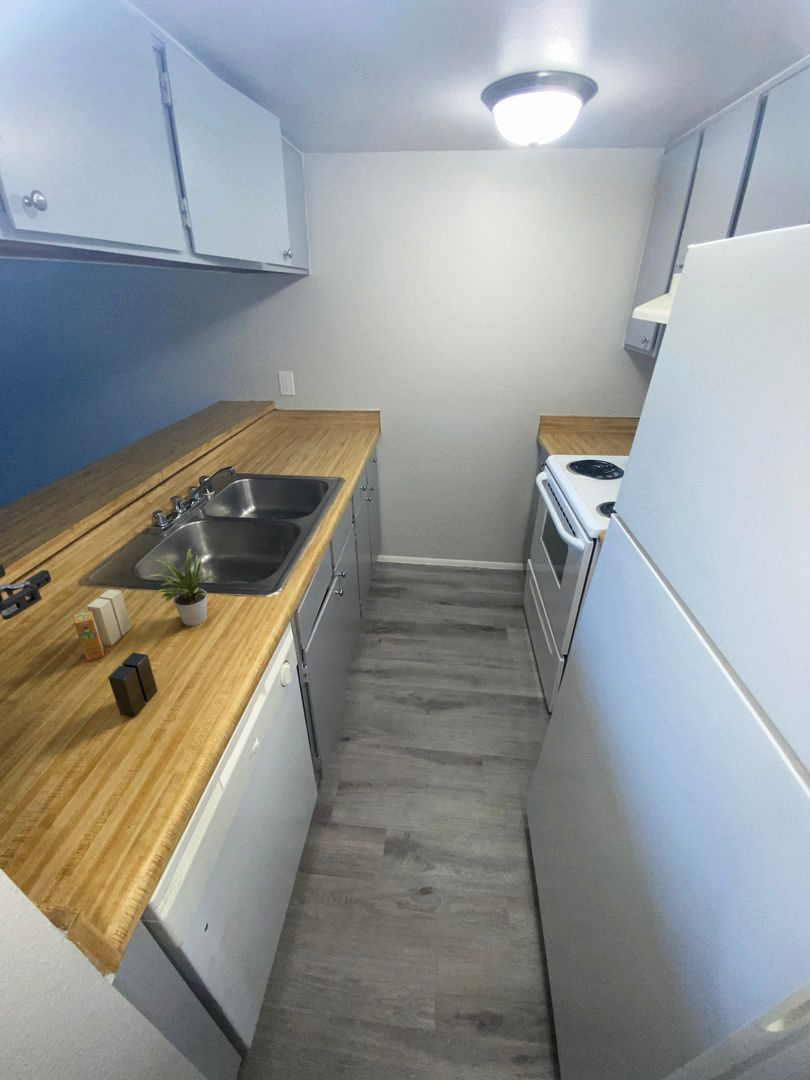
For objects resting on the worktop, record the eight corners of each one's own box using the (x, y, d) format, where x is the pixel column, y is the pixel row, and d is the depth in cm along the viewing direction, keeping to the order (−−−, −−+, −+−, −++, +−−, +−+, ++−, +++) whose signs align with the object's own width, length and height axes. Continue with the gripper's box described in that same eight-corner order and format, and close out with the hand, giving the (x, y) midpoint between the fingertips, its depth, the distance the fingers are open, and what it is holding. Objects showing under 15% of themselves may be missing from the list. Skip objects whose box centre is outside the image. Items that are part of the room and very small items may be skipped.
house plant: (164, 603, 115) (149, 544, 108) (224, 595, 119) (214, 538, 112) (156, 640, 103) (139, 576, 96) (223, 629, 107) (212, 568, 100)
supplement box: (86, 662, 96) (72, 623, 92) (85, 652, 99) (72, 614, 94) (105, 657, 98) (92, 618, 93) (104, 647, 100) (91, 609, 96)
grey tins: (135, 717, 85) (123, 679, 80) (120, 714, 85) (107, 677, 81) (157, 690, 90) (147, 654, 86) (143, 688, 91) (132, 652, 87)
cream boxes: (111, 646, 101) (99, 607, 96) (99, 644, 101) (86, 606, 97) (131, 627, 107) (121, 590, 102) (119, 625, 107) (108, 589, 102)
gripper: (-43, 616, 61) (56, 556, 76) (-136, 603, 63) (-22, 547, 77) (-21, 660, 65) (70, 595, 79) (-110, 647, 66) (-5, 585, 81)
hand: (24, 571), depth 78 cm, fingers open, 8 cm apart
